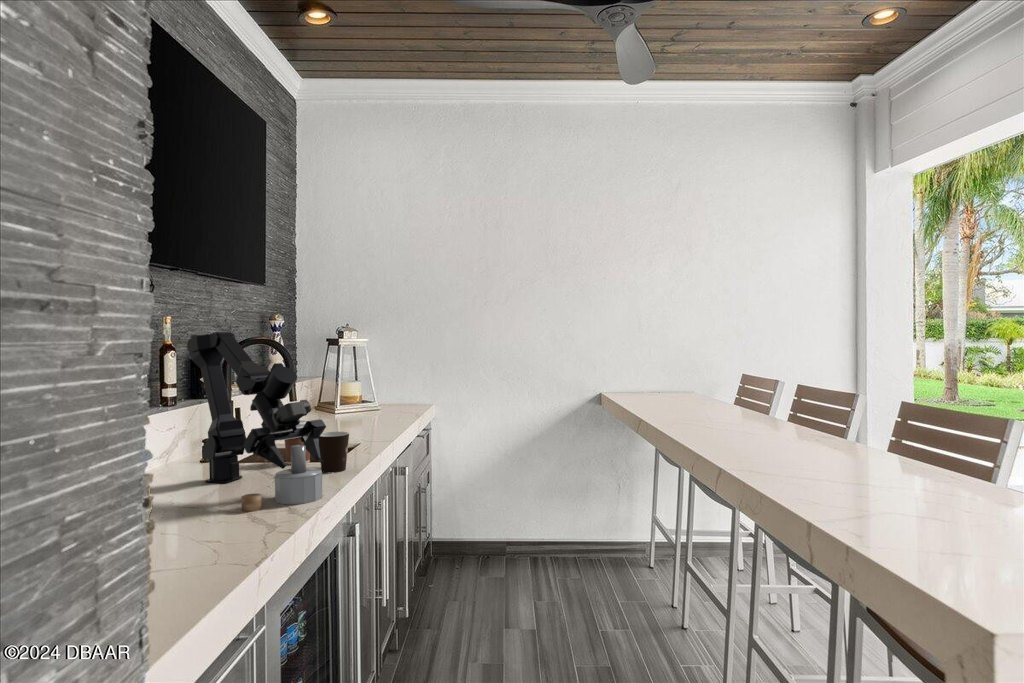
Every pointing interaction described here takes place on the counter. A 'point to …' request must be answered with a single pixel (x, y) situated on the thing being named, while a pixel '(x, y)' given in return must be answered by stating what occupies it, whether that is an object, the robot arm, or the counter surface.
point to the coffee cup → (295, 442)
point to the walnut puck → (251, 502)
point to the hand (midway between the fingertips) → (302, 463)
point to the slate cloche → (298, 480)
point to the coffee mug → (333, 451)
